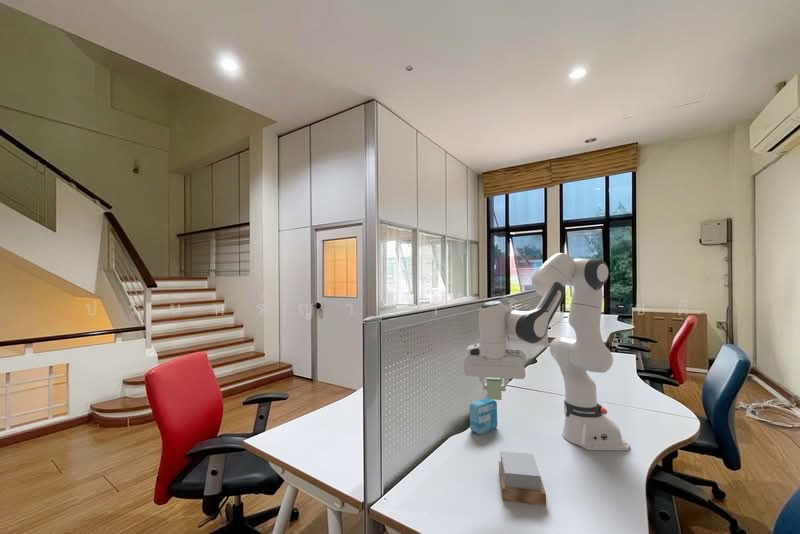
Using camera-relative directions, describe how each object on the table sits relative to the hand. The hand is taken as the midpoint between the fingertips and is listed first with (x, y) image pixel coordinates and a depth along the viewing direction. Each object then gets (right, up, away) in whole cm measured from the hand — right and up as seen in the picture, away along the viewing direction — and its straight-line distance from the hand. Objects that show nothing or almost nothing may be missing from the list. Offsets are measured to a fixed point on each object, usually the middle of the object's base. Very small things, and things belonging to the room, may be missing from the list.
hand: (494, 390), depth 110 cm
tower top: (+5, -23, -9) cm, 26 cm away
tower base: (+6, -27, -9) cm, 29 cm away
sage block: (0, -2, 0) cm, 2 cm away
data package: (+4, -28, +28) cm, 40 cm away
